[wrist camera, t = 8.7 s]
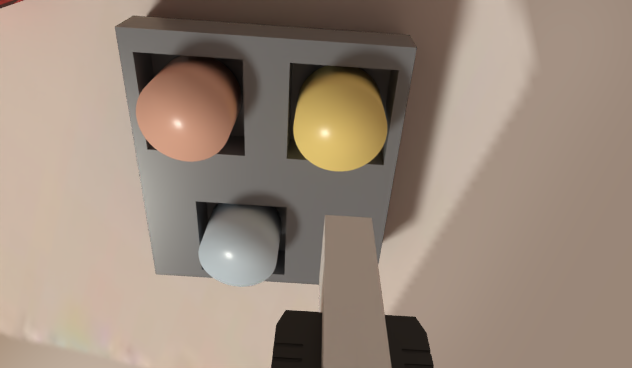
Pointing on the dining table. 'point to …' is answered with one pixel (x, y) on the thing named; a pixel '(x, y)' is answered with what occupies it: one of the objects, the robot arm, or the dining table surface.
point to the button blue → (241, 243)
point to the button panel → (262, 137)
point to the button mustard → (339, 118)
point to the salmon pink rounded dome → (189, 108)
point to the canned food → (8, 2)
